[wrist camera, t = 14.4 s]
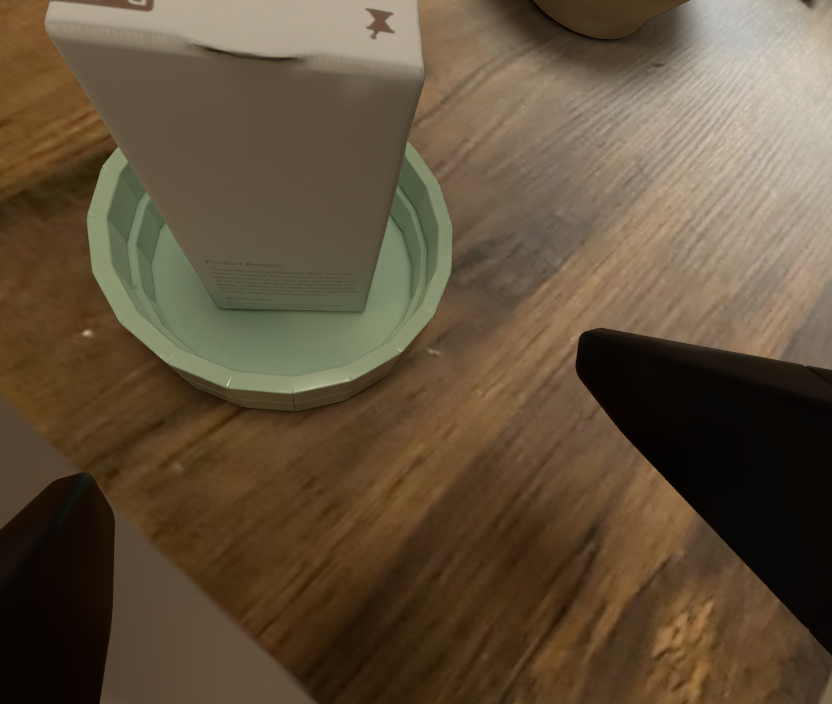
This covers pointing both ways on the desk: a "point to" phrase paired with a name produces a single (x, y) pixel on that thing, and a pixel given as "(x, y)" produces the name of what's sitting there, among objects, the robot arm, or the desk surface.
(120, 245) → the shallow bowl
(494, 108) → the desk surface
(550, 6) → the planter bowl
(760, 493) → the robot arm
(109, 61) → the cosmetic box
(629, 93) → the desk surface
